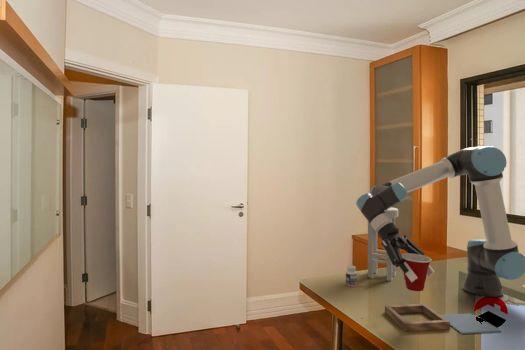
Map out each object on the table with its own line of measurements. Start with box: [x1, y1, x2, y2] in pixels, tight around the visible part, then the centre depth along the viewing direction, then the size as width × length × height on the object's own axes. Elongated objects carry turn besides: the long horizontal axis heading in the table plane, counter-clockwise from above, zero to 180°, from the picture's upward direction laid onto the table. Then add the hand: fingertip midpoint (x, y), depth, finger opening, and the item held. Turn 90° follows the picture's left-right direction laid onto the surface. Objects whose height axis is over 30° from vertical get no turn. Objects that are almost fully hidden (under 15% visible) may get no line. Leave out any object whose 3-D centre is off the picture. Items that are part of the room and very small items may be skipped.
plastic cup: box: [401, 252, 432, 292], centre depth 127 cm, size 11×11×12 cm
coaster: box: [440, 312, 502, 335], centre depth 124 cm, size 14×14×1 cm
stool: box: [367, 206, 399, 282], centre depth 179 cm, size 16×16×35 cm
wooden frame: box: [384, 303, 451, 332], centre depth 127 cm, size 16×16×2 cm
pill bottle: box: [345, 265, 358, 288], centre depth 166 cm, size 5×5×9 cm
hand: (423, 276), depth 125 cm, fingers closed on plastic cup, 10 cm apart
